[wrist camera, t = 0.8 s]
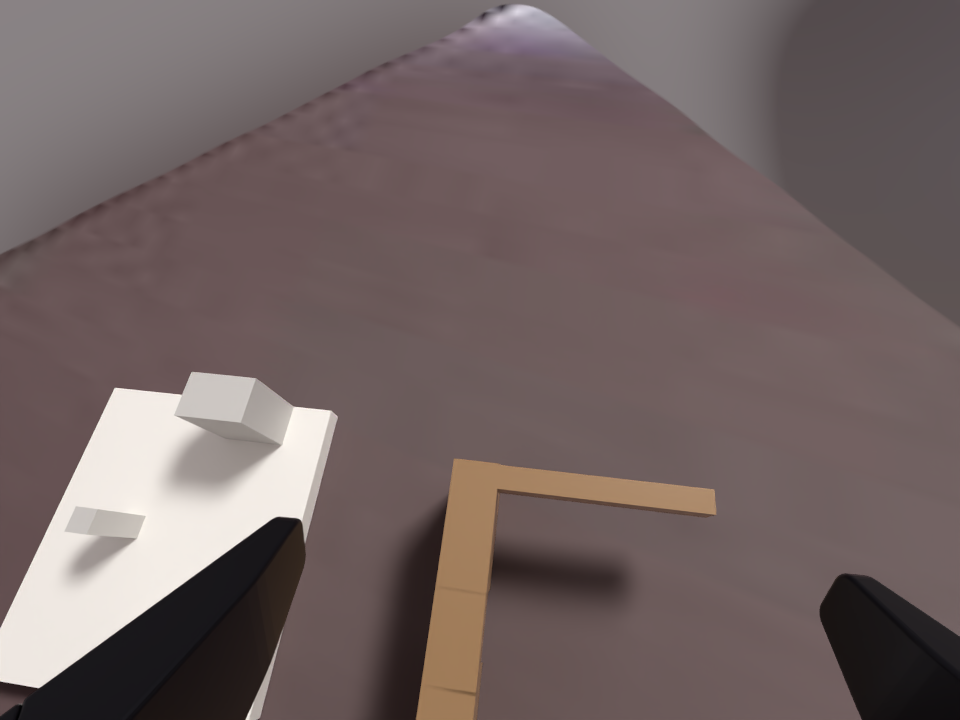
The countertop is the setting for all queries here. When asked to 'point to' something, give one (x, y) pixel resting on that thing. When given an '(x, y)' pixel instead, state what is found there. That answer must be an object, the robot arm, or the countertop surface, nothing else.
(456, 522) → the wooden c-shaped bracket
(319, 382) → the countertop surface
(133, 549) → the display stand
